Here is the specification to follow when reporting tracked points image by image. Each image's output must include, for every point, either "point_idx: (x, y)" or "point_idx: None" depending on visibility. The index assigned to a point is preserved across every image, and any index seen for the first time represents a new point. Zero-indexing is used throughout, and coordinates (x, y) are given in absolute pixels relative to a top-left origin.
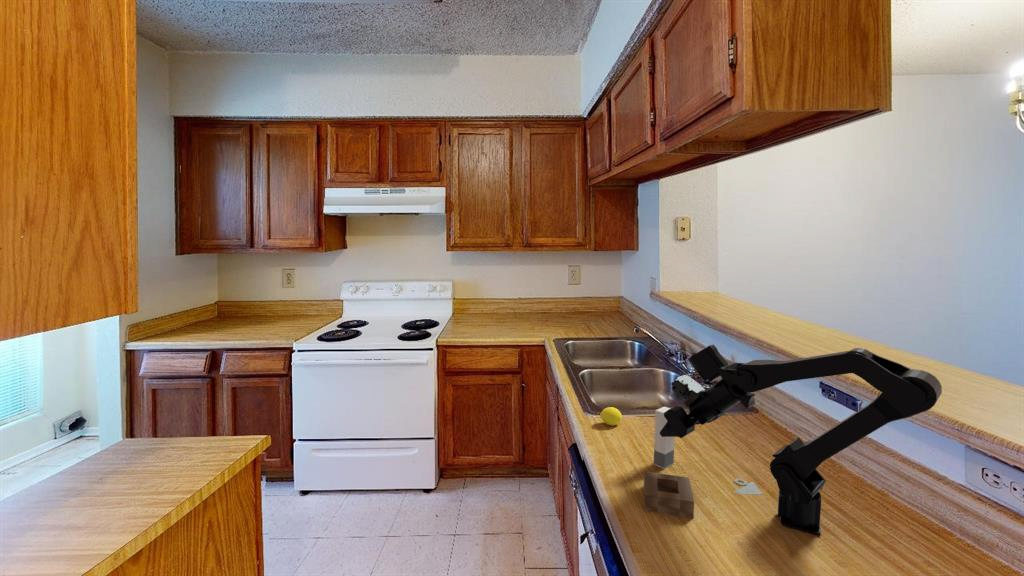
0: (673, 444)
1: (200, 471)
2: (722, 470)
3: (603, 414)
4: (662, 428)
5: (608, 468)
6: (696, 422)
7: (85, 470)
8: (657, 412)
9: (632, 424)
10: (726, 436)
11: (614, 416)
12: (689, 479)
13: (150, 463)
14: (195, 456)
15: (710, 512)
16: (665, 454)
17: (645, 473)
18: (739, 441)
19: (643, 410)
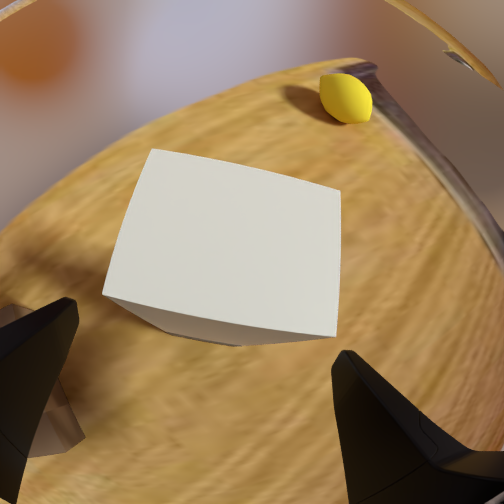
0: (239, 344)
1: (7, 15)
2: (301, 472)
3: (325, 78)
4: (20, 318)
5: (79, 189)
6: (353, 473)
7: (7, 6)
8: (144, 181)
9: (378, 153)
10: (473, 366)
11: (340, 99)
12: (57, 453)
13: (15, 5)
14: (25, 2)
15: (51, 486)
16: (168, 332)
17: (4, 311)
18: (467, 400)
19: (443, 162)
